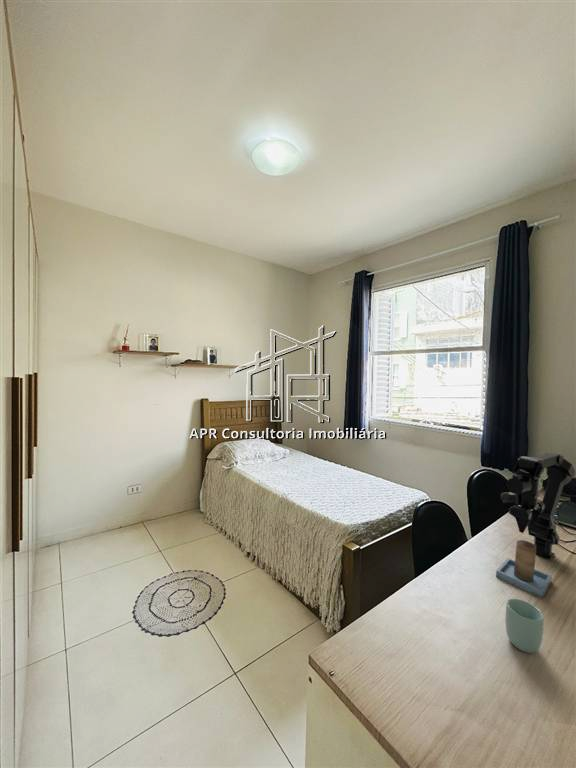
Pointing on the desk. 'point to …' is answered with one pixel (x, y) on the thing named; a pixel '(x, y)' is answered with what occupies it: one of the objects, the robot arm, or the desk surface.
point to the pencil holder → (525, 560)
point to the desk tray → (535, 587)
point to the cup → (524, 625)
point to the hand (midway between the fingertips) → (525, 529)
